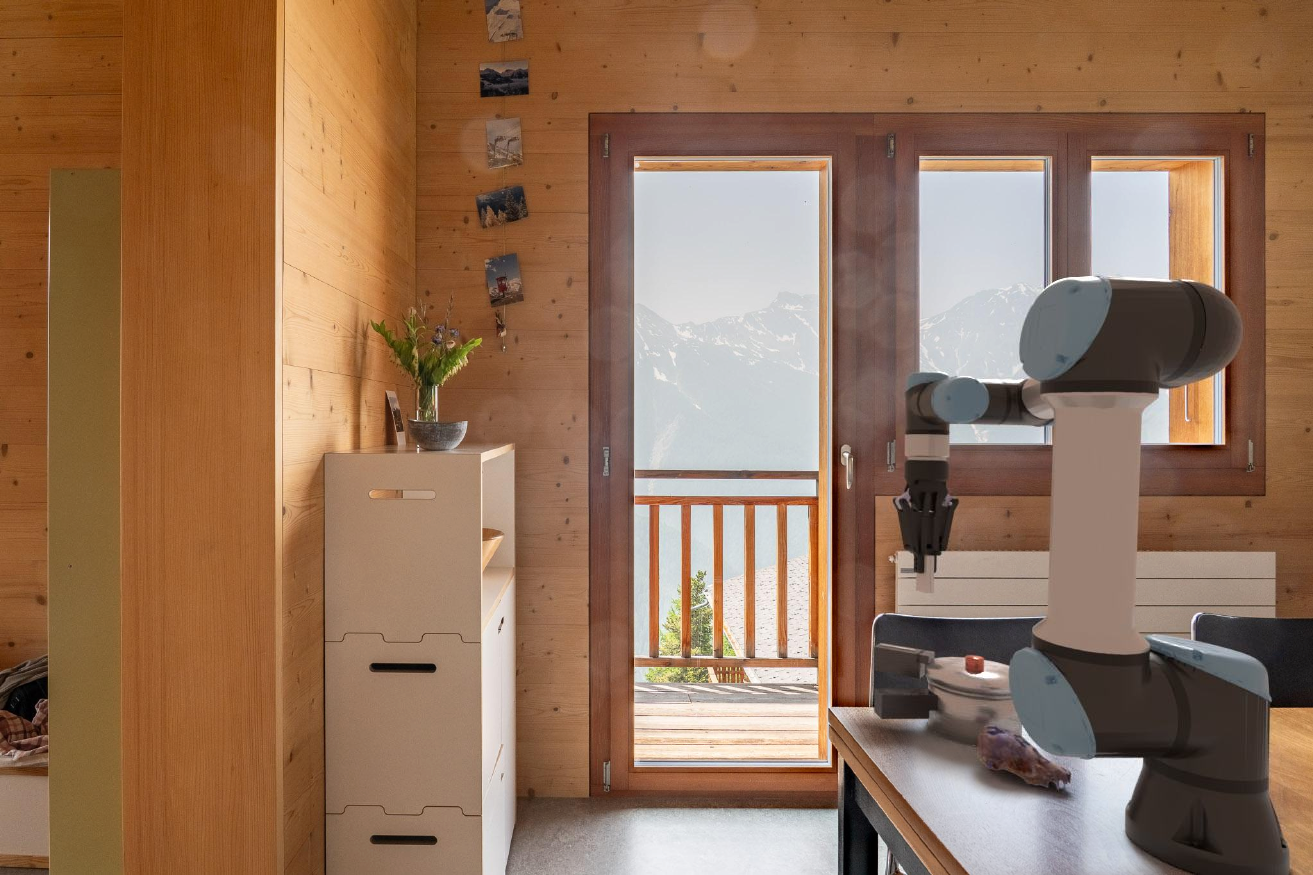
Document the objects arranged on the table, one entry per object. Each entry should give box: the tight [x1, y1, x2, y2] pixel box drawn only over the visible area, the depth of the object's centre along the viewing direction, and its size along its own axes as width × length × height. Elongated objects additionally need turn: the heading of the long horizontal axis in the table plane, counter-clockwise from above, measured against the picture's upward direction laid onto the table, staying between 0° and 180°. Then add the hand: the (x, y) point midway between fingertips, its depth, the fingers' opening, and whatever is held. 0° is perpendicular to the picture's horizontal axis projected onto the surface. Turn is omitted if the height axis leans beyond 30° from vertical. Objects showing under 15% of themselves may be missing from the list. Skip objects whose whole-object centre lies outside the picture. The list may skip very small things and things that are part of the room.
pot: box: [873, 677, 1023, 747], centre depth 120 cm, size 14×23×8 cm, turn 94°
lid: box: [873, 642, 1011, 694], centre depth 123 cm, size 15×24×5 cm, turn 54°
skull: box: [976, 725, 1072, 791], centre depth 102 cm, size 12×8×6 cm, turn 37°
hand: (924, 591), depth 132 cm, fingers closed
